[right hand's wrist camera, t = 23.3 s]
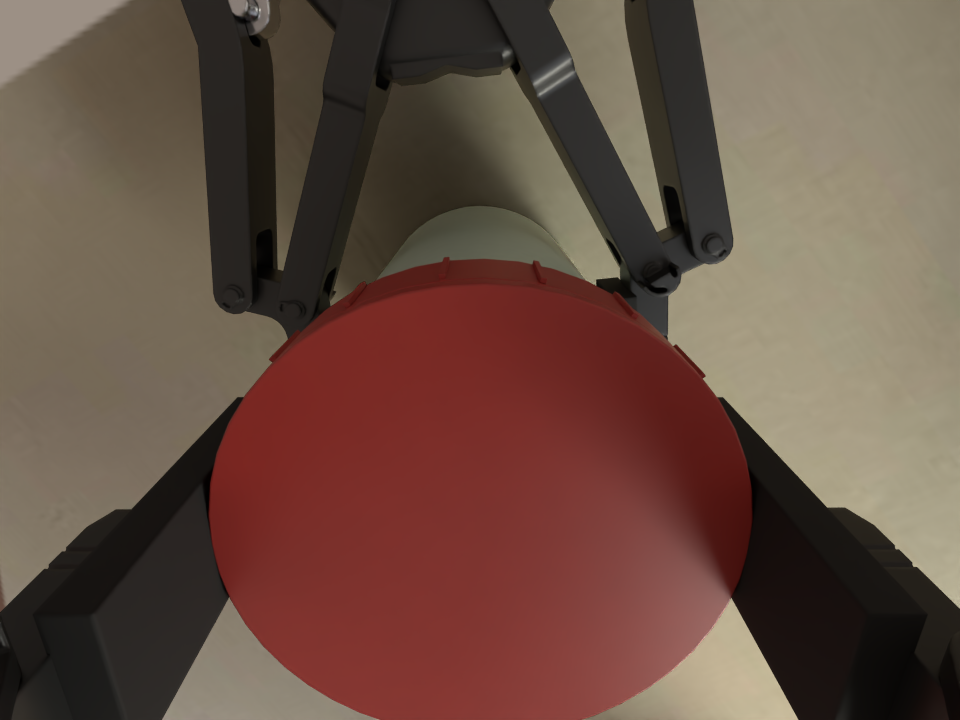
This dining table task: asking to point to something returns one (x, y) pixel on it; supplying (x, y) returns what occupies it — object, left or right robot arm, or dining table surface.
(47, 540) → the dining table surface
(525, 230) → the jar
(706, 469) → the lid
